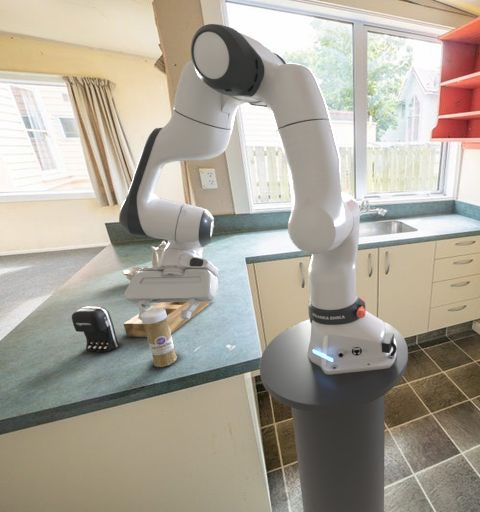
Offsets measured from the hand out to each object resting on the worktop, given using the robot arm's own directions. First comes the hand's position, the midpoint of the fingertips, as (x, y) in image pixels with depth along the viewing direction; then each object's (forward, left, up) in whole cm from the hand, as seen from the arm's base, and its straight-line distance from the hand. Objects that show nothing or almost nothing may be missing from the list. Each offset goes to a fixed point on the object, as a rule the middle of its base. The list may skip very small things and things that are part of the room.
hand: (164, 319), depth 70 cm
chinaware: (+36, -44, -10) cm, 58 cm away
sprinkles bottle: (0, +3, -10) cm, 11 cm away
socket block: (+13, -17, -10) cm, 23 cm away
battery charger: (+20, -1, -10) cm, 22 cm away
